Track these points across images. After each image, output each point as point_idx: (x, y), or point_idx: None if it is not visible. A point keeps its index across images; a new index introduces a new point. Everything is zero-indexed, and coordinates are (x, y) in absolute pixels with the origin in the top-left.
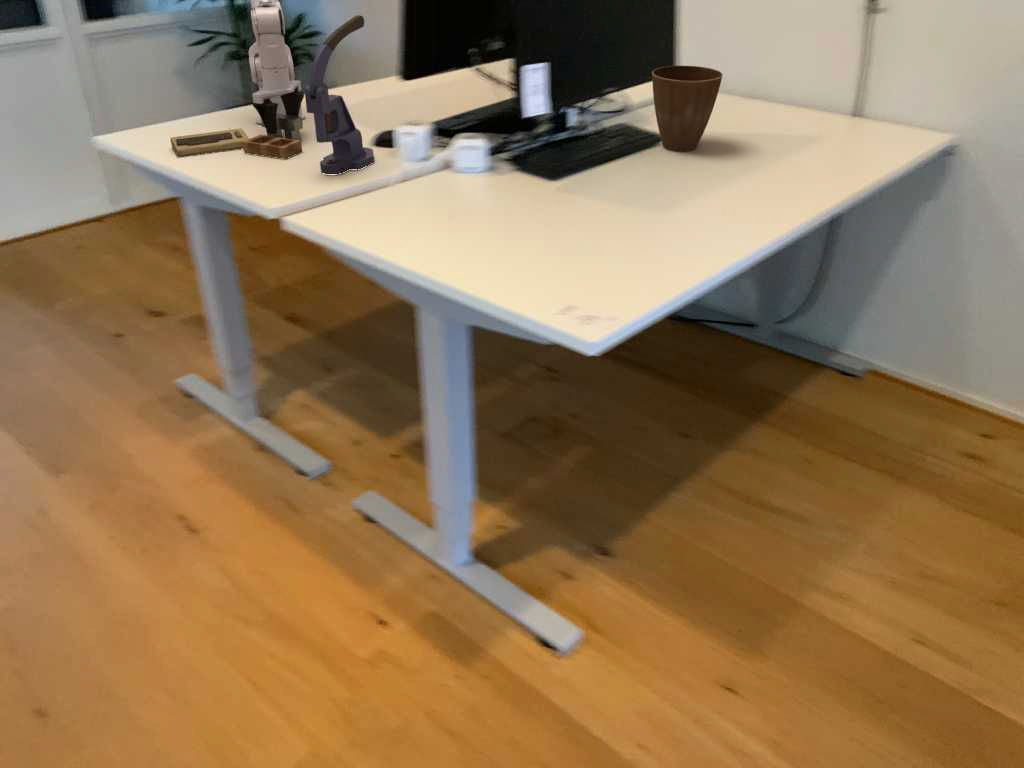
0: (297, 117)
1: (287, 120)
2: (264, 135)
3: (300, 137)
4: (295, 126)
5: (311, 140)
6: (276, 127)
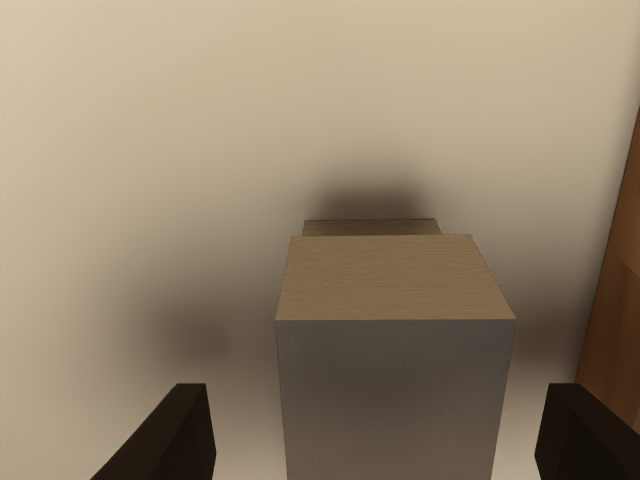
0: (339, 354)
1: (497, 404)
2: None
3: (305, 234)
4: (458, 261)
5: (237, 141)
6: (593, 423)
